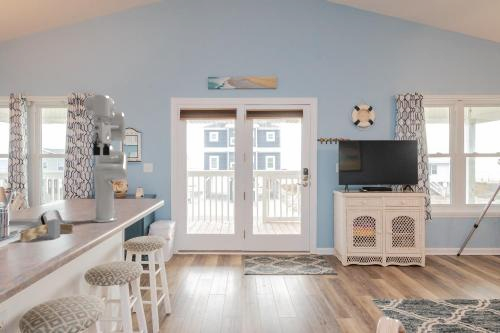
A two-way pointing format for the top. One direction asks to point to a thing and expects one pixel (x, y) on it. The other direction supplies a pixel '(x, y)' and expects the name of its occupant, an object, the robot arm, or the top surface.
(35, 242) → the top surface
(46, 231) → the wooden corner frame
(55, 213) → the hinge
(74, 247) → the top surface
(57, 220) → the bracket
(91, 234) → the top surface
